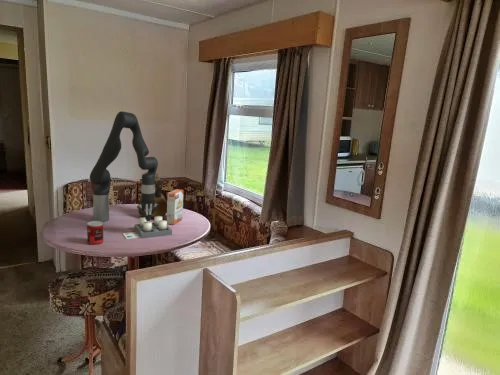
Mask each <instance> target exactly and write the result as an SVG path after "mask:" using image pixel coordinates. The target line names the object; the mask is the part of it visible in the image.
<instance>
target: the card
mask: <svg viewBox="0 0 500 375" xmlns="http://www.w3.org/2000/svg"><path fill="white" fill-rule="evenodd" d="M122 235H123V236H124V238H125V239H126V240H131V239H138V238H139V239H142V238H141V236H140V235H139V234H138V233H137V232H136V231H134V232H132V231H131V232H124V233H122Z"/></svg>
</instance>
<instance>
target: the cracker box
mask: <svg viewBox="0 0 500 375" xmlns="http://www.w3.org/2000/svg"><path fill="white" fill-rule="evenodd" d="M166 201H167V213H166V221H167V225H173V226H174V225H176V224H178V223H179V222H180V221H182V220H183V208H184V189H178V188H176V189H173V190H172V191H169V192H167V199H166Z"/></svg>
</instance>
